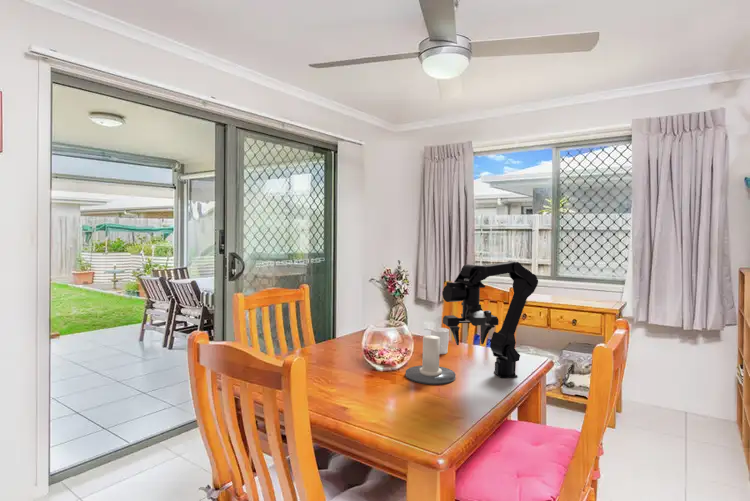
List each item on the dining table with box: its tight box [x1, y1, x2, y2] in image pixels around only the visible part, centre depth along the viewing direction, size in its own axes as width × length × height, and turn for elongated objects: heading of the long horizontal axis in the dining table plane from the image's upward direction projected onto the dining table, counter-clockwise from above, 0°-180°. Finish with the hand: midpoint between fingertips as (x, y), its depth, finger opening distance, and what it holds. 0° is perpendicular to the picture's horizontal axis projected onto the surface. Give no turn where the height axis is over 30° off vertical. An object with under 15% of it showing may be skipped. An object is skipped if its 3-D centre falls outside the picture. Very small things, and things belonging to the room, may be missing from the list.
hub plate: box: [405, 365, 457, 386], centre depth 162 cm, size 18×18×1 cm
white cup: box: [430, 327, 450, 355], centre depth 194 cm, size 8×8×10 cm
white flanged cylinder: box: [420, 335, 442, 377], centre depth 161 cm, size 8×8×13 cm
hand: (469, 344), depth 157 cm, fingers open, 9 cm apart
